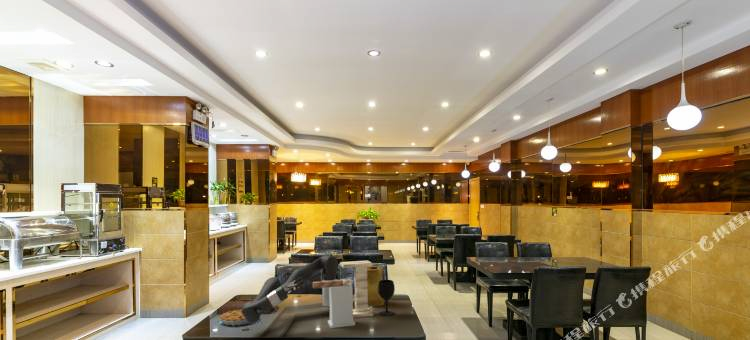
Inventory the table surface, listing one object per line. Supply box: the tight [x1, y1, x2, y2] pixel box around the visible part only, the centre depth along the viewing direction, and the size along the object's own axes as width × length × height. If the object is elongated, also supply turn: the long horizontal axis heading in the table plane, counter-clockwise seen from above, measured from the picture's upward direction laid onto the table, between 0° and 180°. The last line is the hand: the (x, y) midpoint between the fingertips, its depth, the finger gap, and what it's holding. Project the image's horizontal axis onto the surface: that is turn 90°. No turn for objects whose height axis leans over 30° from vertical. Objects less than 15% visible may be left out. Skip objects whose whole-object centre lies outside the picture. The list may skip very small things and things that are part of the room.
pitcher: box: [367, 265, 385, 307], centre depth 282 cm, size 17×19×25 cm
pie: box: [219, 308, 249, 327], centre depth 249 cm, size 22×22×5 cm
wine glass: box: [378, 279, 396, 317], centre depth 258 cm, size 10×10×20 cm
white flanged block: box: [327, 285, 356, 329], centre depth 239 cm, size 10×14×22 cm
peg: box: [312, 278, 353, 289], centre depth 239 cm, size 22×6×3 cm, turn 107°
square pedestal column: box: [339, 259, 374, 319], centre depth 258 cm, size 12×18×32 cm, turn 107°
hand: (303, 279), depth 234 cm, fingers open, 8 cm apart
